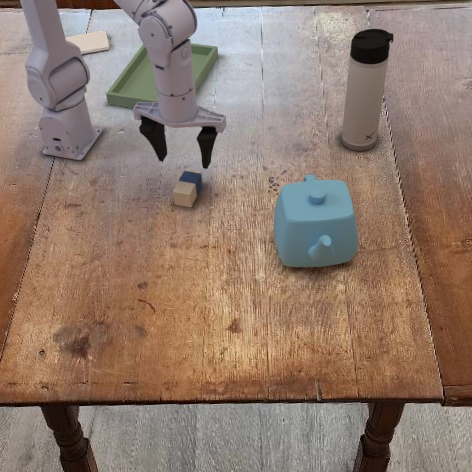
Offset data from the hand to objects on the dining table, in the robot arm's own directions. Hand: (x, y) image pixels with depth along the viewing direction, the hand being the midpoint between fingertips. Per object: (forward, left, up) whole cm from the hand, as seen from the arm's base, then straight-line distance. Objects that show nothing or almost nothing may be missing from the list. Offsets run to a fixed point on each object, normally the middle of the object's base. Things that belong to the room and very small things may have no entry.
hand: (184, 161), depth 111 cm
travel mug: (+22, -25, -7) cm, 34 cm away
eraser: (0, 0, -7) cm, 7 cm away
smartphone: (+39, +41, -7) cm, 57 cm away
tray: (+32, +17, -7) cm, 37 cm away
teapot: (-8, -24, -7) cm, 26 cm away
